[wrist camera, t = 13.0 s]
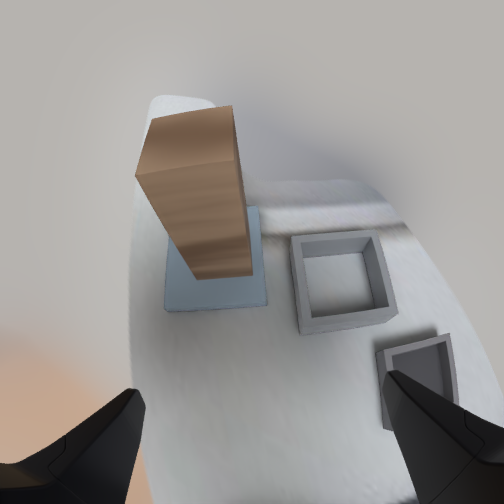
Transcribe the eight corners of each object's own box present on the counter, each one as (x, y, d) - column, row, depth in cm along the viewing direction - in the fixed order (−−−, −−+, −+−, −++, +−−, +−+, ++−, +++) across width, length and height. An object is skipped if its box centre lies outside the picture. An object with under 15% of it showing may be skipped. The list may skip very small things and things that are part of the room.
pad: (267, 305, 24) (266, 301, 23) (167, 311, 24) (164, 308, 24) (258, 211, 29) (258, 205, 28) (174, 220, 29) (171, 215, 28)
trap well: (447, 406, 18) (459, 406, 16) (383, 428, 18) (392, 431, 16) (438, 337, 21) (449, 332, 19) (375, 353, 21) (383, 349, 20)
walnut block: (253, 275, 24) (233, 160, 13) (196, 280, 25) (134, 175, 13) (249, 227, 27) (232, 105, 15) (198, 232, 27) (152, 119, 15)
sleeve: (385, 322, 22) (398, 313, 20) (299, 335, 23) (303, 327, 20) (367, 245, 26) (376, 229, 24) (289, 252, 26) (291, 236, 24)
